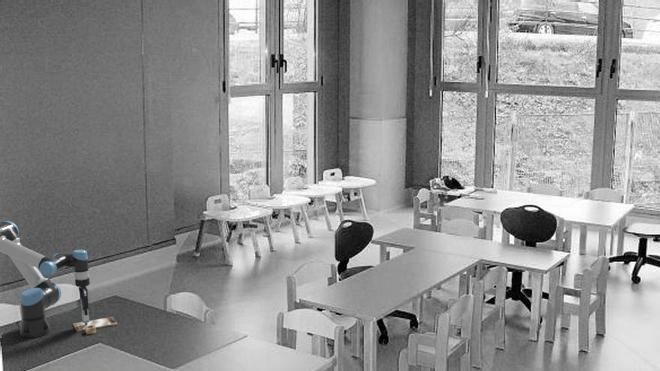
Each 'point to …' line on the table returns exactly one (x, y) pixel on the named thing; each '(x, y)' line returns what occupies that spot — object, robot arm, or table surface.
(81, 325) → the clipboard
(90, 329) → the stand
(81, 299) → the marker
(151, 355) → the table surface
